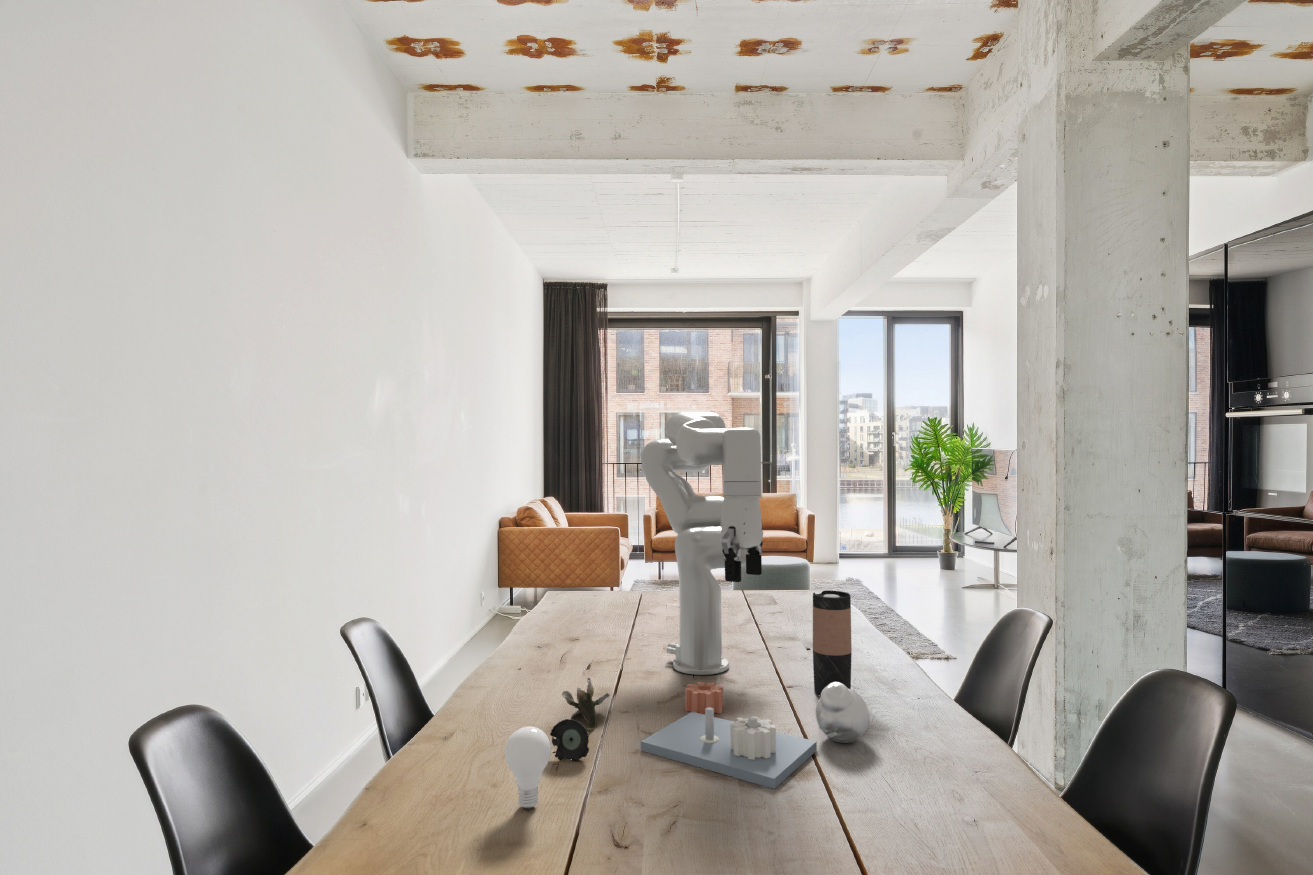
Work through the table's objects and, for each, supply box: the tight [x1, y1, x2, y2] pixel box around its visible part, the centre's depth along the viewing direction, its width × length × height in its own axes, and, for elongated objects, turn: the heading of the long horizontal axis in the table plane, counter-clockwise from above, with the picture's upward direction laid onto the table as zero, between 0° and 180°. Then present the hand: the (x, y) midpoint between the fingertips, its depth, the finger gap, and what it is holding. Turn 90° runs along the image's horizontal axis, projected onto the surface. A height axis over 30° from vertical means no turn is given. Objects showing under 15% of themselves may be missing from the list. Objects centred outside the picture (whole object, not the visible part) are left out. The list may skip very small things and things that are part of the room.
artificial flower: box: [549, 677, 611, 762], centre depth 127 cm, size 9×22×10 cm, turn 171°
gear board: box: [640, 708, 818, 790], centre depth 119 cm, size 24×16×6 cm, turn 55°
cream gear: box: [730, 716, 777, 760], centre depth 115 cm, size 7×7×4 cm
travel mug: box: [812, 589, 853, 697], centre depth 147 cm, size 8×8×20 cm
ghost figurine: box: [815, 682, 870, 744], centre depth 123 cm, size 9×10×10 cm
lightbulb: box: [504, 725, 552, 810], centre depth 101 cm, size 6×6×11 cm
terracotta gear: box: [684, 681, 724, 715], centre depth 138 cm, size 7×7×4 cm
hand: (743, 577), depth 142 cm, fingers open, 9 cm apart
